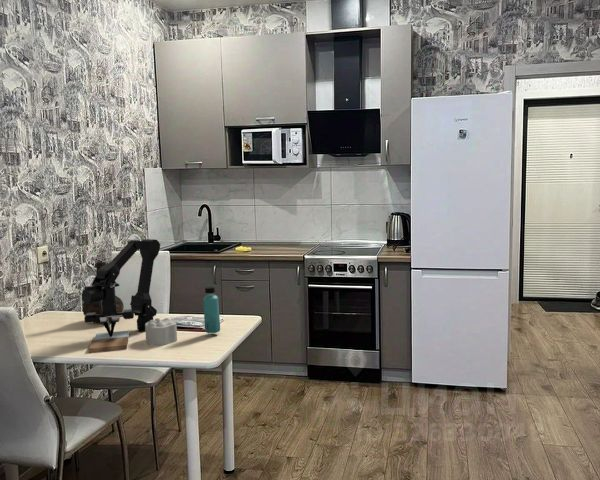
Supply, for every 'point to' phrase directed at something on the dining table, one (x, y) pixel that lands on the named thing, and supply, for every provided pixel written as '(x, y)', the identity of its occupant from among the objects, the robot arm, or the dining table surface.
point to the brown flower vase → (95, 306)
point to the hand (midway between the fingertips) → (111, 336)
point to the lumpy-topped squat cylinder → (160, 332)
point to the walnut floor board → (108, 344)
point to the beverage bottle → (211, 311)
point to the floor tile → (115, 335)
